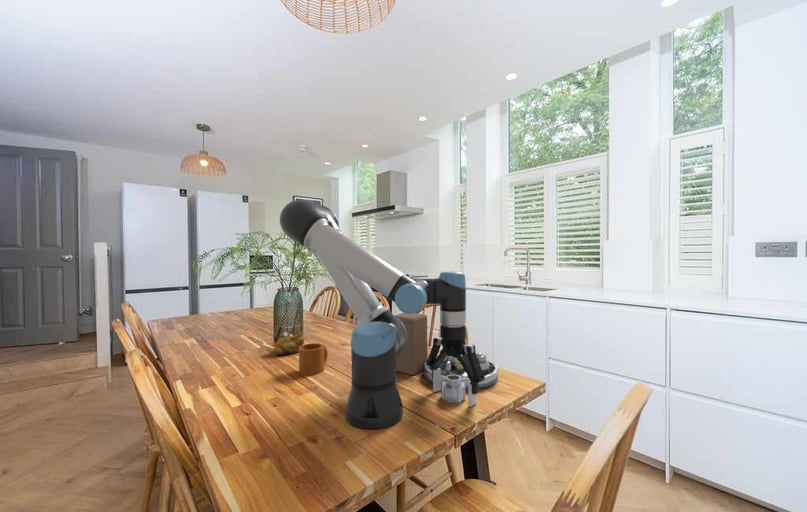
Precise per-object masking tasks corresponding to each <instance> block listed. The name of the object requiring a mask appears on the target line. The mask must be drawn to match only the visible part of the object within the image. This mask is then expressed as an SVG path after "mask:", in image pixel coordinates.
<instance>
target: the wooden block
mask: <svg viewBox="0 0 807 512" xmlns="http://www.w3.org/2000/svg"><path fill="white" fill-rule="evenodd" d="M393 316H394V317H395V318H397V319H399V320H400V321H401V322H402V323H403V325H404V326H405V329H406V334H407V337H406V343H405V346H404V348H403V350H402V351H401V352H400V354H399V355H398V357H397V358H396V372H399V373H403V374H406V375H410V376H414V375H416V374H419V373H420V372H422V371H424V369H425V362H426V361H427V360H428V357H429V351H428V346H429V345H428V315H427V314H424V313H418V312H417V313H414V314H406V313H403V312H402V313H399V314H394V315H393Z"/></svg>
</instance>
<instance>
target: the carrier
mask: <svg viewBox="0 0 807 512" xmlns="http://www.w3.org/2000/svg"><path fill="white" fill-rule="evenodd" d="M476 355H477V358H478V361H479V364H480V366H481V369H482V372H483V375H484V378H485V380H483V381H481V382H479V383H478V391H480V390H484V389H488V388H490V387H492V386H495V384H497V383H498V381H499V367H498V365H497V364H496V362H494V361H491V360H490V359H488V358H487V355H486V354H484V353H481V352H477V353H476ZM461 356H463V355H461ZM437 357H438V355H437ZM437 357H436V358H437ZM426 363H427V361H426V362H425V369H424V370H423V371H424V372H423V374H424V378H425V380H426V381H428V383H430V384H431V385H433V379H432V369H431V367H430V366H427V365H426ZM438 368H440V369H441V388H442V382H445V381H446V376H448V375H458V376H461V382H464V383H465V386H466V391H467V392H468V382H470V379H469V378H468V376H467V374H466V372H465V370H464V368H463V367H462V365H461V363H460V361H458V360H457V358H454V357H452V356H446V357H445V359H444V360H443V362H442V363H441V364H440V367H438ZM473 378H474V377H473Z"/></svg>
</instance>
